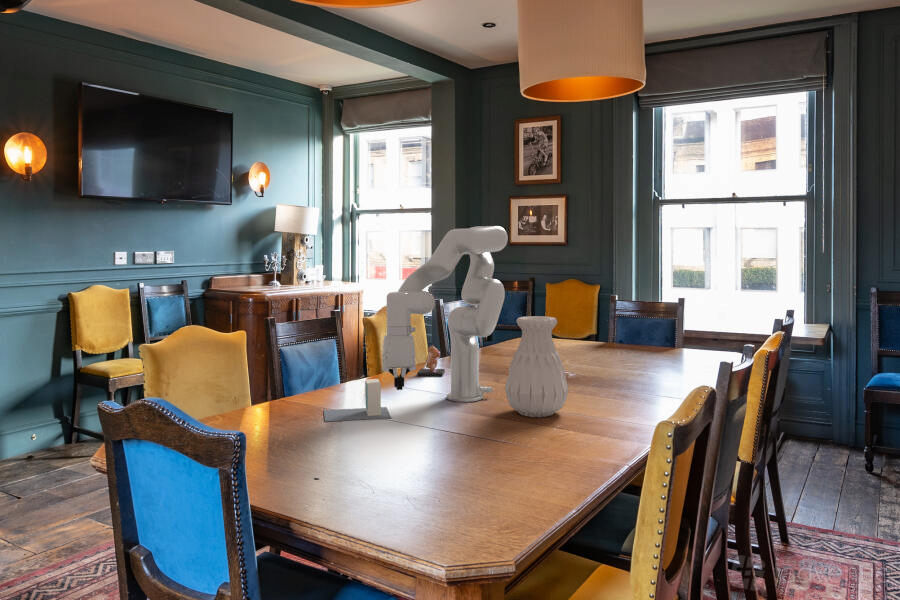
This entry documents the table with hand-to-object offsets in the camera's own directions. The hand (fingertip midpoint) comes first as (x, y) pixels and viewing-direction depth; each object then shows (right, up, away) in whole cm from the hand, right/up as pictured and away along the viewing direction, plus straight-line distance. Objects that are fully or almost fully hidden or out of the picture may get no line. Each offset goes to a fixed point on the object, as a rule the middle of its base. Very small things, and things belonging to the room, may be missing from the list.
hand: (399, 389), depth 218 cm
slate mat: (-13, -8, -2) cm, 15 cm away
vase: (+43, -8, -1) cm, 44 cm away
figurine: (+8, -3, +65) cm, 66 cm away
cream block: (-8, -7, -1) cm, 11 cm away
